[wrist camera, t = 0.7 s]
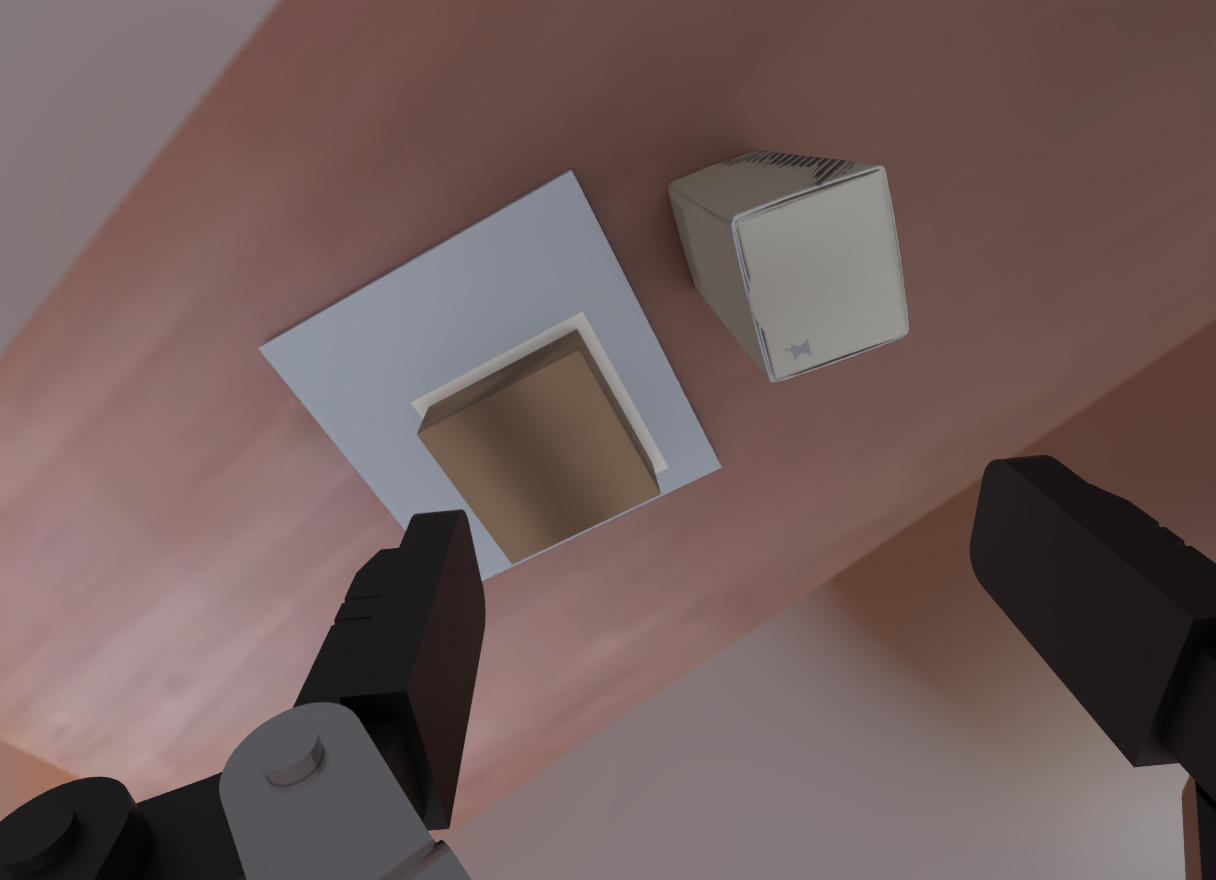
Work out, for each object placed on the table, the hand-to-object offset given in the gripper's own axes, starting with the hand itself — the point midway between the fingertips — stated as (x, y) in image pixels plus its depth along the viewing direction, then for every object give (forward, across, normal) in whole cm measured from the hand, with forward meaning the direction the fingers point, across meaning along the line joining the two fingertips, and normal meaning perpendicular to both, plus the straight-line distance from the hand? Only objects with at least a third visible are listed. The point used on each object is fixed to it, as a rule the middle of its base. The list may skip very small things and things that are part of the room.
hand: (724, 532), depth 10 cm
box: (+22, -4, -1) cm, 23 cm away
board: (+22, +6, +7) cm, 24 cm away
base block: (+21, +5, +8) cm, 23 cm away
